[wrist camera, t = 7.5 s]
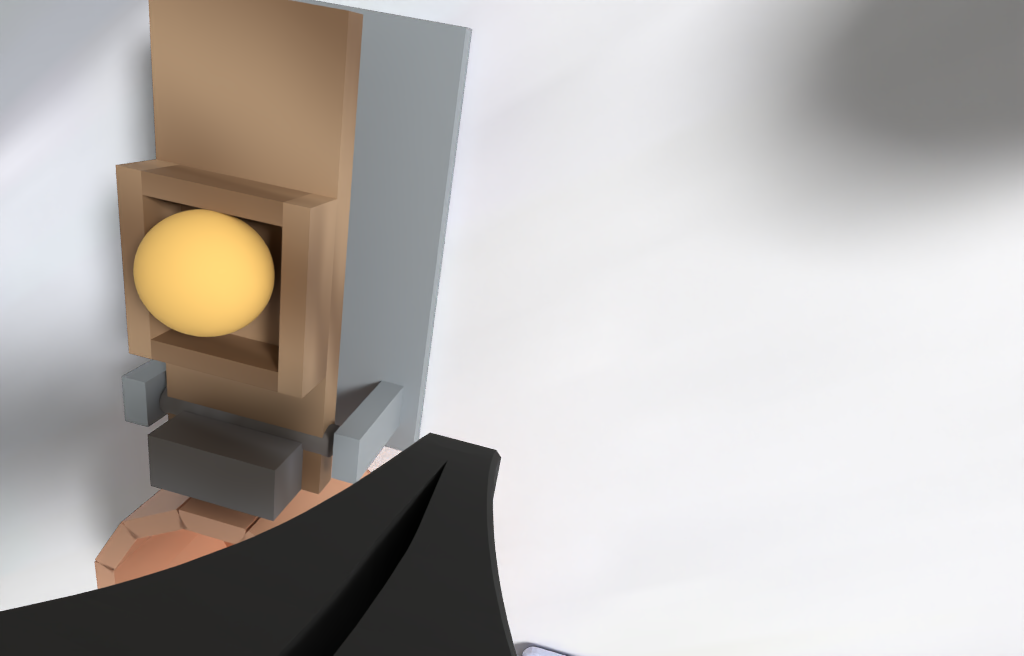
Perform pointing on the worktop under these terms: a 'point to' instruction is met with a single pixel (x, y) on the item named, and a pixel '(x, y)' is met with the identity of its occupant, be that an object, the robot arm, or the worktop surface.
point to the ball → (204, 273)
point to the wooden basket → (187, 532)
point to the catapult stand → (382, 237)
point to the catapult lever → (273, 215)
